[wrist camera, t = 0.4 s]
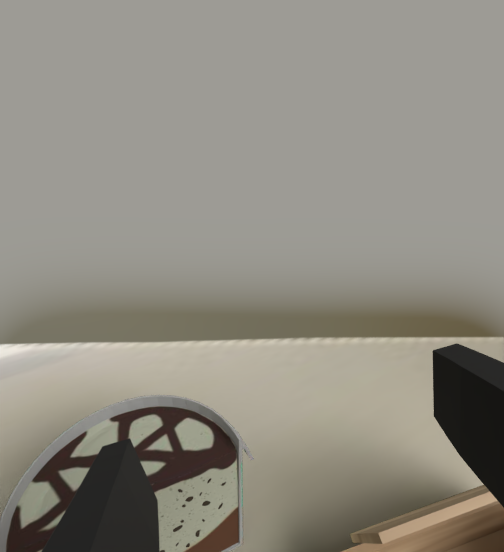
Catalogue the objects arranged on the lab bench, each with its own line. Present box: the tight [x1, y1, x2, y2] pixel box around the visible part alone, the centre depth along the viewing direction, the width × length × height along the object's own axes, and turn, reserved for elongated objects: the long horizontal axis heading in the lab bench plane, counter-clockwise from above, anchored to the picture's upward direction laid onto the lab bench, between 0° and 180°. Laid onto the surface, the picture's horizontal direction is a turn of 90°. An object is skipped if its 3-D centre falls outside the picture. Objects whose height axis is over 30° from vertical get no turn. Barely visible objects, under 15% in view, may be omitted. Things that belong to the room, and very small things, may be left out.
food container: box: [0, 395, 254, 552], centre depth 23 cm, size 12×6×10 cm, turn 115°
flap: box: [350, 485, 498, 544], centre depth 20 cm, size 1×9×5 cm, turn 105°
